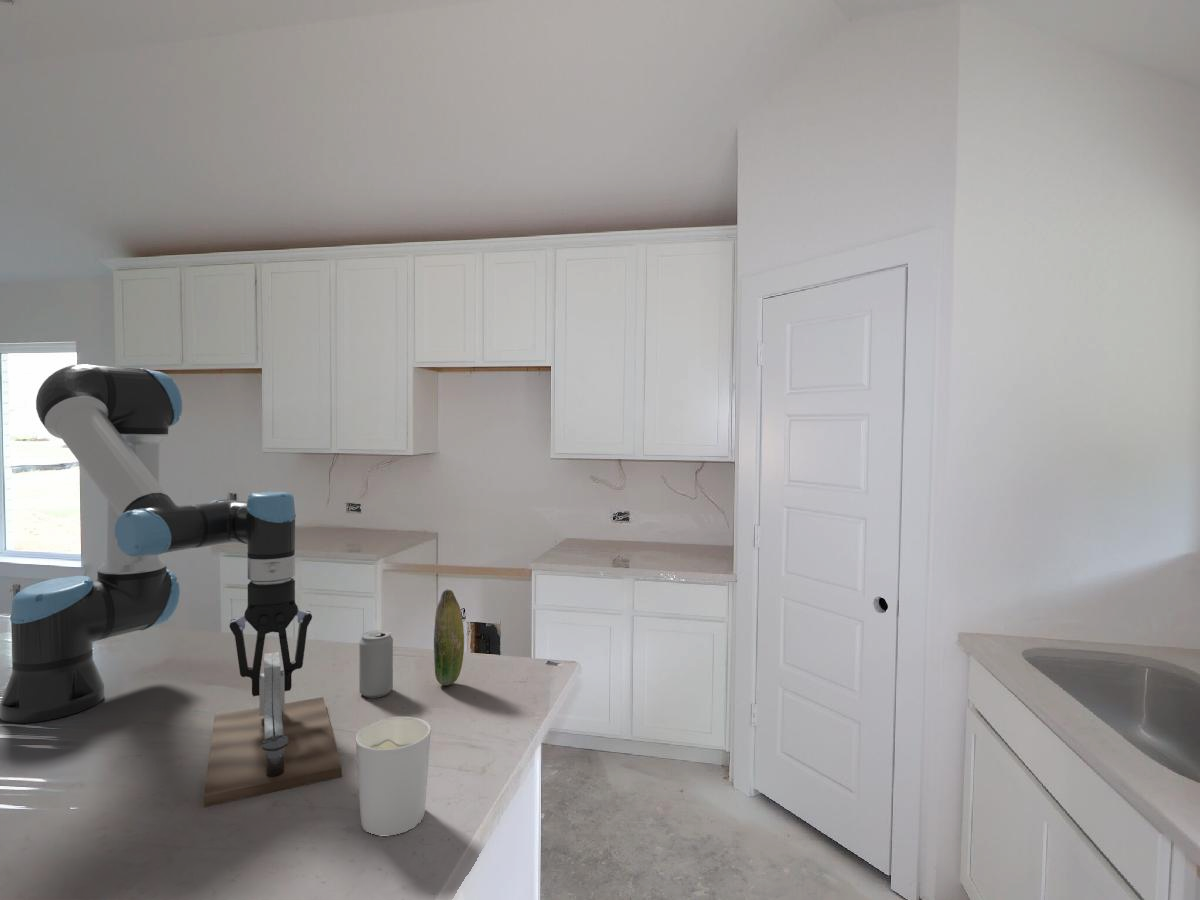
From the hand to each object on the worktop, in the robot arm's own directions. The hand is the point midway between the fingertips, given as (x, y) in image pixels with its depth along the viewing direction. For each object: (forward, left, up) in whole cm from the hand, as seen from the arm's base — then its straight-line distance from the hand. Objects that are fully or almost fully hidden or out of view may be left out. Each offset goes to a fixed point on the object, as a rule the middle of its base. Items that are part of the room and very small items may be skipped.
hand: (271, 710), depth 116 cm
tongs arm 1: (+7, -1, -1) cm, 8 cm away
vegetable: (-4, +33, -3) cm, 33 cm away
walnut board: (+9, 0, -3) cm, 9 cm away
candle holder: (+38, +14, -3) cm, 41 cm away
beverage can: (-7, +19, -3) cm, 20 cm away
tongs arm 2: (+7, +1, -1) cm, 8 cm away
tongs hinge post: (+21, 0, -1) cm, 21 cm away
